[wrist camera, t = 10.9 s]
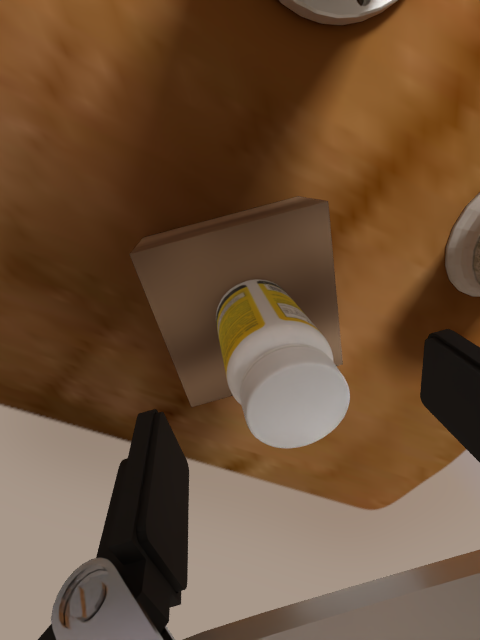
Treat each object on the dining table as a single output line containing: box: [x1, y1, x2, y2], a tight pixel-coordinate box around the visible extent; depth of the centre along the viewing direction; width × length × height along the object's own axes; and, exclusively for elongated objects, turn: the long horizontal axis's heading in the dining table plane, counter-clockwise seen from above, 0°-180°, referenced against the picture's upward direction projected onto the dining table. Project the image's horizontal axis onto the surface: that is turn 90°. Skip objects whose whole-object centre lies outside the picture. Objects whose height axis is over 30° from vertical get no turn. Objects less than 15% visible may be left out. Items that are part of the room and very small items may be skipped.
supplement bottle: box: [216, 279, 350, 448], centre depth 15 cm, size 5×5×8 cm
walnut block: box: [129, 196, 343, 407], centre depth 21 cm, size 11×11×5 cm
